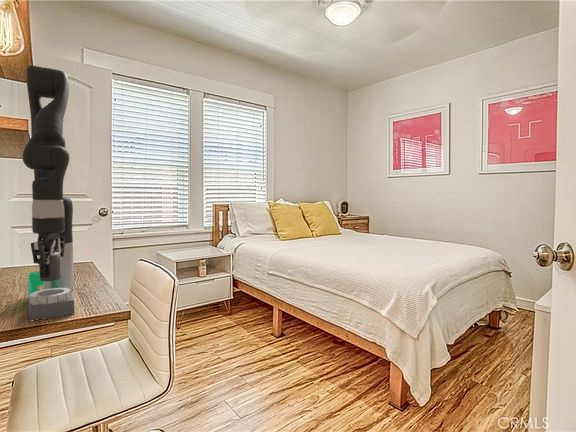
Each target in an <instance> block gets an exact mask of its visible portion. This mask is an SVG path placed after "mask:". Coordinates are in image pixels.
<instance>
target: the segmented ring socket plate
mask: <svg viewBox="0 0 576 432" xmlns="http://www.w3.org/2000/svg"><path fill="white" fill-rule="evenodd" d="M27 303H28V304H27V306H28V307H27V308H28V309H27V310H28V311H29V312H28V311H27V312H28V317H29V316H30V317H29V322H30V321H31V320H37V319H43V318H49V319H54V318H58V316H60V317H63V316H62V315H65V316H68V315H67V314H70V315H73V314H72V313H74V314H75V299H74V298H73V296H72V291H71V290H70V289H69V288H51V289H45V290H42V289H41V290H38V291H36V292H33V293H31V294H30V298H28V297H27ZM53 317H54V318H53ZM43 320H44V319H43Z"/></svg>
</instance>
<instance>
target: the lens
mask: <svg viewBox="0 0 576 432" xmlns="http://www.w3.org/2000/svg"><path fill="white" fill-rule="evenodd" d="M45 253H48V252H45ZM45 257H46V256H45ZM49 264H50V277H48V278H41V277H40V281H54V280H59V279H61V255H60V252H53V255H52V256H51V257H50V263H49ZM38 267H39V268H38V270H39V271H38V272H39V276H40V265H39V264H38Z"/></svg>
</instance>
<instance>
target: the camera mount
mask: <svg viewBox="0 0 576 432" xmlns="http://www.w3.org/2000/svg"><path fill="white" fill-rule="evenodd" d="M27 283H28V285H27V299H28V298H30V294H31V293H33V292H36V291H39V287H40V286H41V287H42V285H44V281H40V276H39V271H32V272H29V273H28V282H27Z"/></svg>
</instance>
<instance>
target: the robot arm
mask: <svg viewBox="0 0 576 432" xmlns="http://www.w3.org/2000/svg"><path fill="white" fill-rule="evenodd" d="M26 87H27V95H28V103H29V112H30V124H31V126H30V128H31V129H30V130H31V131H30V133H31V137H30V138H29V141H28V142H27V144H26V145H25V147H24V149H23V152H22V161H23V164H24V165H25V166H26V167H27V168H28V169H30V170H33V175H34V180H33V181H32V185H31V190H32V193H31V194H32V201H31V202H32V204H31V227H32V228H31V232H32V233H33V234H37V235H38V236H37V241H35V242H31V243H30V248H31V254H32V260H33V264H37V265H38V266H39V265H40V277H41V278H48V277H50V264H49V263H50V257H51V256H52V255H53V252H60V255H61V279H59V280H54V281H44V285H41V287H42V288H41V290H45V289H51V288H69V289H70V290H71V292H72V291H73V290H75V285H74V284H75V281H74V279H75V275H74V244H73V243H74V242H73V241H74V240H73V238H74V237H73V214H74V210H73V209H74V205H73V201H72V199H71V198H70V197H67V196H66V197H65V196H64V194H63V193H64V188H63V187H64V180H65V176H66V172H67V169H68V166H69V163H70V154H69V151H68V150H67V148H66V147H67V146H66V140H65V138H64V136H63V128H64V127H63V125H64V118H65V115H66V109H67V105H68V101H69V94H70V82H69V77H68V74H67V73H66V72H65V71H64V70H63V71H62V70H60V69H56V68H50V67H42V66H36V65H29V66H28V67H27V68H26ZM41 98H45V99H52V100H51V101H50V102H49V103H48V104H46V105H45V106H44V105H43V102H42V99H41ZM45 252H48V253H45ZM45 256H46V257H45Z"/></svg>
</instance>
